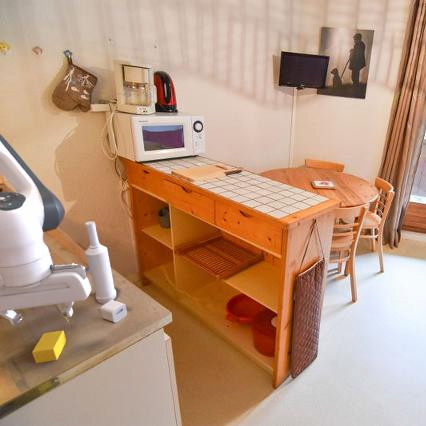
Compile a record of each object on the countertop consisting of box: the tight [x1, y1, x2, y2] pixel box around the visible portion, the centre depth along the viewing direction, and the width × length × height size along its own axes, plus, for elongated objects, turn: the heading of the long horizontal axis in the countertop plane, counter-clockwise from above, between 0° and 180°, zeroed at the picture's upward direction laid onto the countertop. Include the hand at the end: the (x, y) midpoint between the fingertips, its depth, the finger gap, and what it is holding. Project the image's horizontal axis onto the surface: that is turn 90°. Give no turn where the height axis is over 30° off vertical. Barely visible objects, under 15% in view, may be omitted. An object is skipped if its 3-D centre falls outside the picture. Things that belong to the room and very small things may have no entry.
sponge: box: [31, 330, 67, 364], centre depth 75 cm, size 6×4×4 cm, turn 18°
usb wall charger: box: [96, 299, 128, 324], centre depth 88 cm, size 4×7×4 cm, turn 71°
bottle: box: [84, 221, 117, 305], centre depth 90 cm, size 5×5×25 cm
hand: (43, 319), depth 73 cm, fingers open, 8 cm apart
